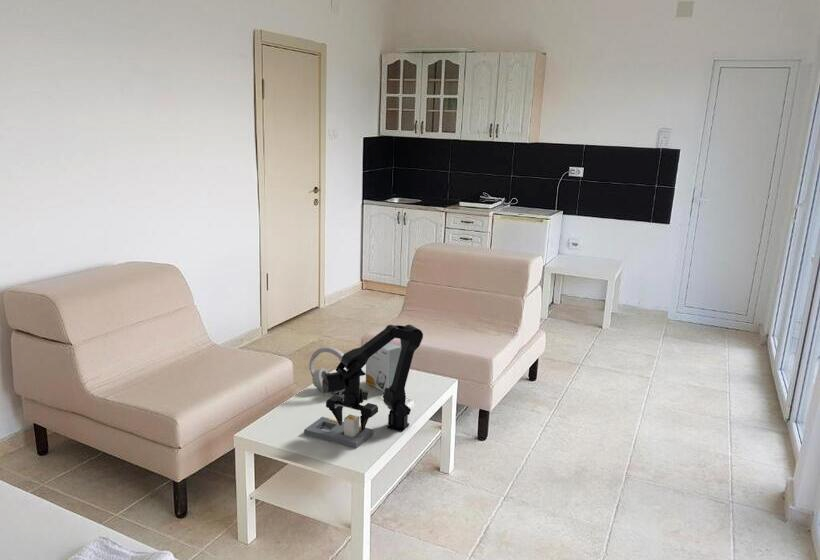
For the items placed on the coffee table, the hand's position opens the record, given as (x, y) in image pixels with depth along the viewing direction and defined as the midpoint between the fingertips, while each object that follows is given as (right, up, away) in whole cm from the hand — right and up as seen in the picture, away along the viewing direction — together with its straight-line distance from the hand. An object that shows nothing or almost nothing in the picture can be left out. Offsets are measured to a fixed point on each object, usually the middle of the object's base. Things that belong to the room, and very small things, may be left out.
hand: (351, 427), depth 233 cm
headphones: (-13, +6, +40) cm, 43 cm away
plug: (0, -4, +1) cm, 4 cm away
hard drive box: (+9, +7, +47) cm, 49 cm away
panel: (-5, -3, +3) cm, 7 cm away
